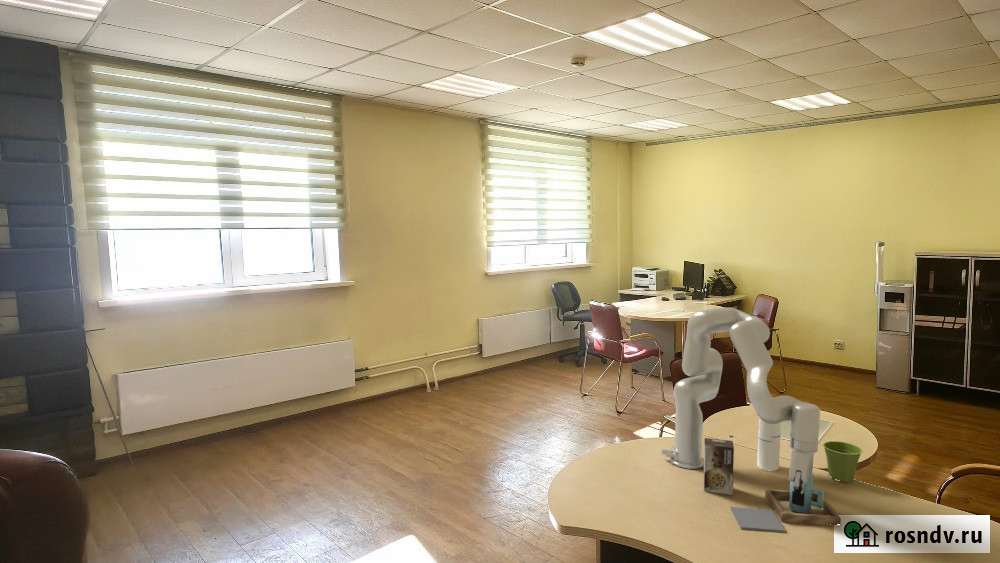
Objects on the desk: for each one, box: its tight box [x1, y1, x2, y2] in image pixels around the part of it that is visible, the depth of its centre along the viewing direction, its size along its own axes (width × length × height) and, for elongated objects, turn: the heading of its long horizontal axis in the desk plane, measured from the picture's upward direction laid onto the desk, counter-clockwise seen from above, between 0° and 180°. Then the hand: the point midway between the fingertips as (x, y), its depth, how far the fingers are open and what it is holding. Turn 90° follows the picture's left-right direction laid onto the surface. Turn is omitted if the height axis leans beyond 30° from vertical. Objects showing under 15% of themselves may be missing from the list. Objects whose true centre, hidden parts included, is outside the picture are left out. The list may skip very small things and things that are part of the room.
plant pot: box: [822, 440, 864, 483], centre depth 194 cm, size 12×12×11 cm
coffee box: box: [702, 437, 735, 496], centre depth 185 cm, size 9×6×16 cm
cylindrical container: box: [756, 416, 782, 471], centre depth 202 cm, size 7×7×25 cm
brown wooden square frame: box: [764, 488, 842, 526], centre depth 172 cm, size 16×16×2 cm
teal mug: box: [788, 473, 825, 514], centre depth 171 cm, size 9×6×11 cm, turn 51°
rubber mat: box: [730, 506, 786, 533], centre depth 166 cm, size 12×12×1 cm
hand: (800, 500), depth 172 cm, fingers closed on teal mug, 6 cm apart
